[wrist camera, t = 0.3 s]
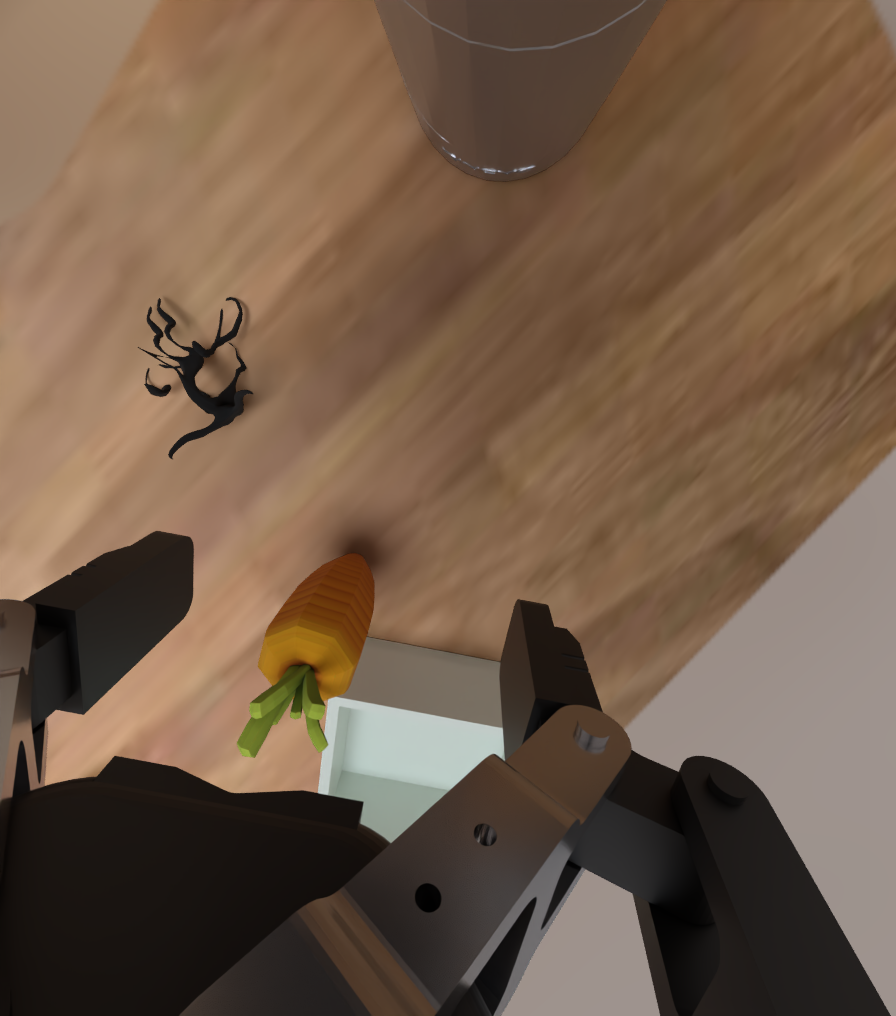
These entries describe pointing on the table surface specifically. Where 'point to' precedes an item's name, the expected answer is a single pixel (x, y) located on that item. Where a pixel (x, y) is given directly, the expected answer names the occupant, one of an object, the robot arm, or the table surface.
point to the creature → (221, 406)
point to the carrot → (312, 649)
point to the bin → (409, 731)
